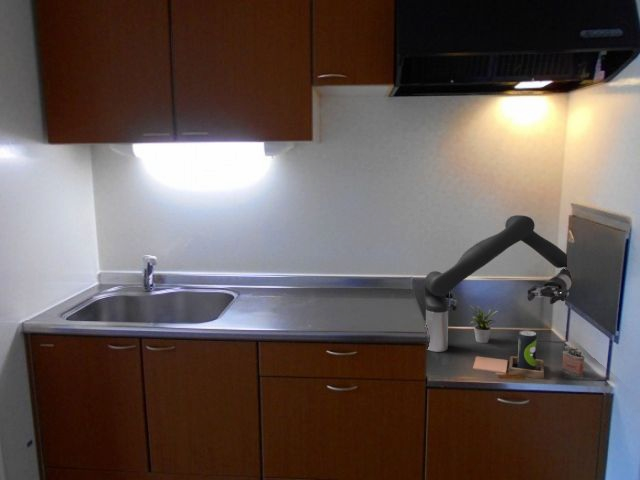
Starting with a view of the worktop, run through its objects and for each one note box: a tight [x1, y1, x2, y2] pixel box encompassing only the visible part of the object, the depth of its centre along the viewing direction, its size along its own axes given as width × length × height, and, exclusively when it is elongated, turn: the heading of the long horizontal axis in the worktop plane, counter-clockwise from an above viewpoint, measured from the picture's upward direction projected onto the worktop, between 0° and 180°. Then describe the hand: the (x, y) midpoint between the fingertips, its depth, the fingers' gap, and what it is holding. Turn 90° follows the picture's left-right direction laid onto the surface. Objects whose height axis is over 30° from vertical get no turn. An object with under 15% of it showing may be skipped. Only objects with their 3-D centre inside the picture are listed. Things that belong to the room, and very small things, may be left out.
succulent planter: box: [561, 345, 585, 378], centre depth 186 cm, size 8×3×10 cm, turn 29°
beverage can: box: [517, 329, 538, 370], centre depth 189 cm, size 6×6×15 cm
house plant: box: [468, 305, 499, 344], centre depth 220 cm, size 14×14×16 cm
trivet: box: [472, 355, 509, 375], centre depth 195 cm, size 12×12×1 cm
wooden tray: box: [508, 355, 545, 380], centre depth 190 cm, size 12×12×2 cm
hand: (539, 300), depth 192 cm, fingers open, 8 cm apart
